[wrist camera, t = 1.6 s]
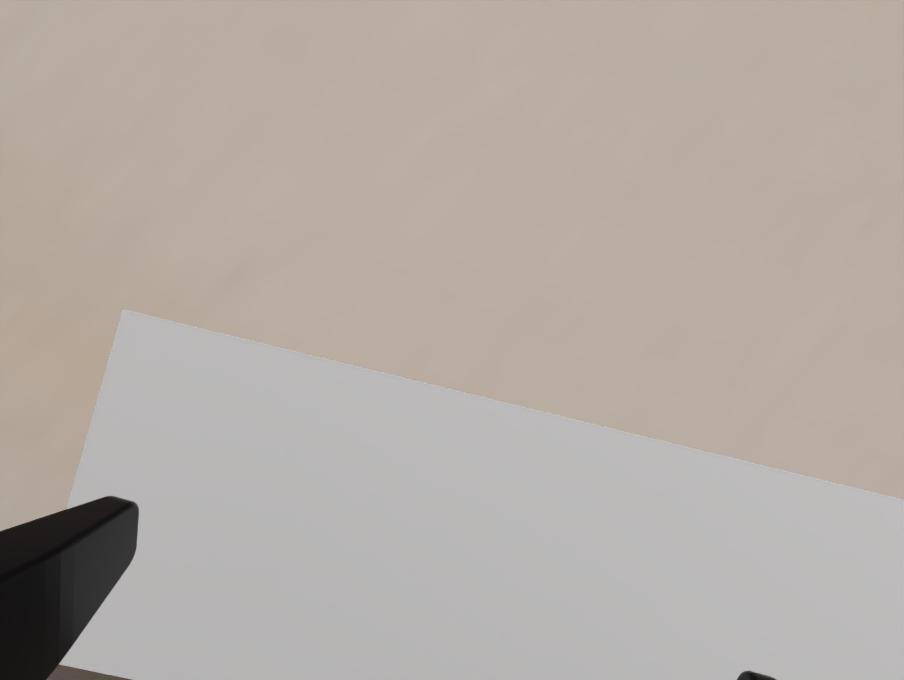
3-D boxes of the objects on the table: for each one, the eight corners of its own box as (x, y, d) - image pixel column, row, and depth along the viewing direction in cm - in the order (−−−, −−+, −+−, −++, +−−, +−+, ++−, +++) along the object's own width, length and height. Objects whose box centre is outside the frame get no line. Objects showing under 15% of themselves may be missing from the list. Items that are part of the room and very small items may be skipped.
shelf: (188, 320, 23) (122, 309, 18) (845, 481, 25) (958, 513, 20) (114, 589, 23) (24, 657, 18) (793, 736, 24) (897, 838, 19)
